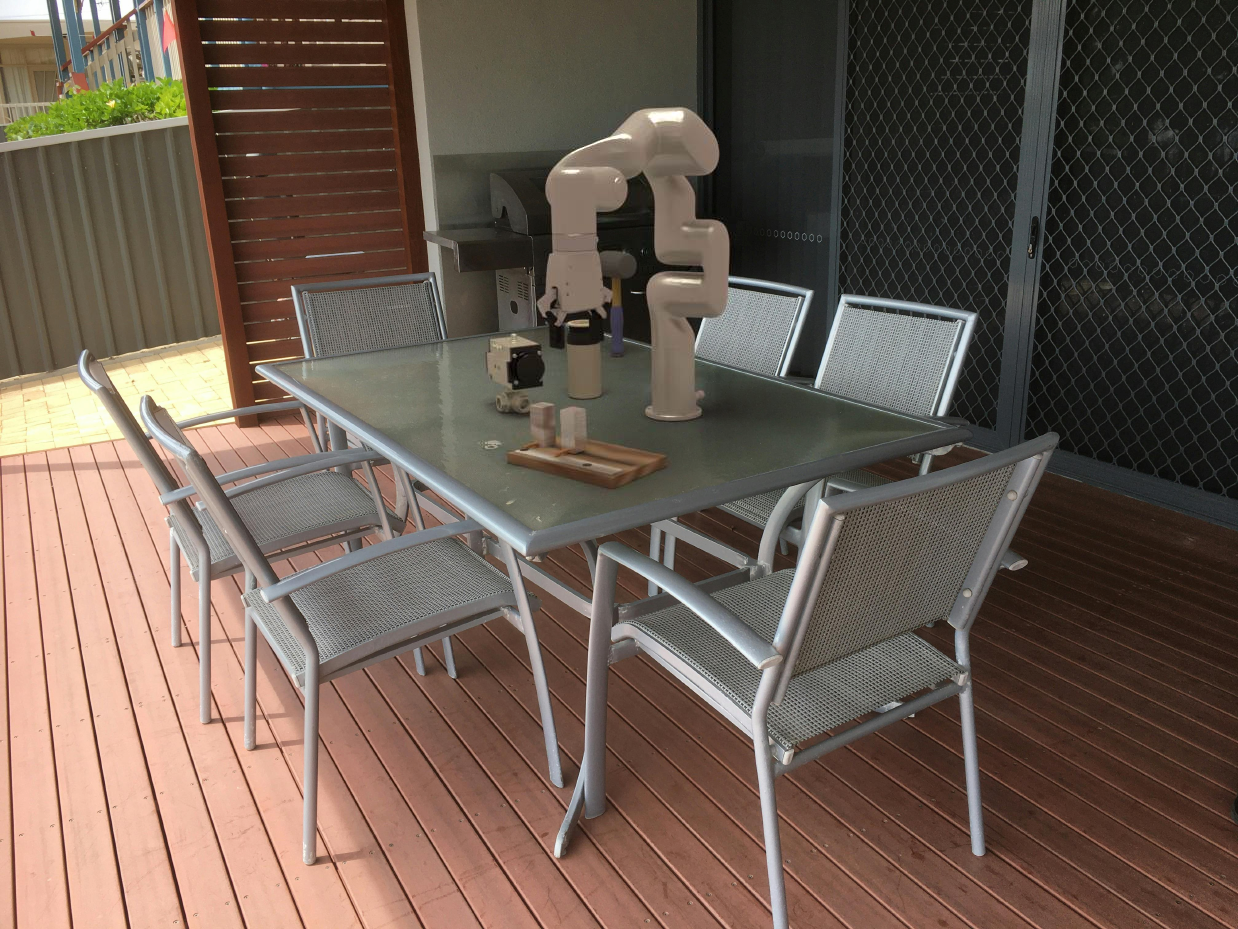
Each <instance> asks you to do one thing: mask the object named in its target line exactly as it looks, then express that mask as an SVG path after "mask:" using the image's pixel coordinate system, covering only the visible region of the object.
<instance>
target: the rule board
mask: <svg viewBox="0 0 1238 929" xmlns="http://www.w3.org/2000/svg"><path fill="white" fill-rule="evenodd" d="M555 408H556V407H555V404H553V403H548V402H542V401H541V402H538V403H533V405H530V411H529V418H530V419H529V420H530V424H529V425H530V439H531V440H530V441H531V443H528V444H526V445H523V446H522V447H521V448H518V449H515V450H512V451H509V452H507V464H508V463H509V464H512V465H516V466H519V467H524V468H527V469H532V470H536V471H539V472H542V473H543V472H544V473H548V474H551V475H554V476H559V477H563V478H568V479H571V480H574V481H575V480H576V481H579V482H584V483H586V484H590V485H595V486H600V487H602V488H607V489H611V490H615V489H616V488H618V487H619V488H620V487H621V486H624V485H627V484H628V483H631V482H633V481H634V480H635V481H636V480H637V479H640V478H643V477H645V476H647V475H649V474H651V473H654V472H657V471H658V470H661V469H663V468H667V466H668V457H667V455H664V454H659V453H655V452H650V451H646V450H641V449H636V448H632V447H629V446H628V447H627V446H623V445H618V444H613V443H608V442H603V441H599V440H594V439H590V438H587V450H584V451H581V452H579V453H576V454H574V453H569V452H568V453H565V454H562V455H559V456H557V457H555V456H554V455H553V454H554V453H557V452H559V451H562V444H561V434H559V435H557V432H556V431H557V430H556V429H557V428H556V409H555Z"/></svg>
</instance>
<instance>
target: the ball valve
mask: <svg viewBox="0 0 1238 929" xmlns="http://www.w3.org/2000/svg"><path fill="white" fill-rule="evenodd" d="M487 339H488V351H486V352H485V353H484V354H485V366H486V367H485V368H486V373H487V374H489V375H490V379H491V380H492V381H494V382H496V383H498V384H500V385H502V386H504V388H508V389H505V390H504V392H502V393H501V394H496V397H495V404H496V408H497V410H498V411H499V412H504V413H513V412H517V413H519V414H526V413H528V412H529V413H530V405H533V404H534V402H533V399H532V397H531V396H530V395H529V394H527V393H526V392H524V391H522V390H527V389H534V388H541V387H544V378H543V376H544V374H545V371H546V365H545V362H544V360H543V358H542V344H541V343H537V342H535V341H532V340H530V339H527V338H524V337H521V336H518V335H517V333H511V334H510V335H509V336H502V337H501V336H500V337H492V338H491V337H490V338H487Z"/></svg>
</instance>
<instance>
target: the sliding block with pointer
mask: <svg viewBox="0 0 1238 929" xmlns="http://www.w3.org/2000/svg"><path fill="white" fill-rule="evenodd" d="M559 414H560V416H559V417H560V418H559V419H560V435H561V444H562V451H559V452H557V453H554V454H553V455H554V456H555V457H557V456H559V455H562V454H565V453H568V452H569V453H574V454H576V453H579V452H581V451H584V450H587V439H588V438H587V410H586V408H582V407H578V406H573V405H572V406H568V407H566V408H563V409H559Z"/></svg>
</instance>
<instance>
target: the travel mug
mask: <svg viewBox="0 0 1238 929" xmlns="http://www.w3.org/2000/svg"><path fill="white" fill-rule="evenodd" d="M566 325H567V326H568V330H569V331H568V333H567V335H566V349H567V350H566V351H567V352H566V353H567V354H566V355H567V376H568V377H567V381H568V396H569V397H570V398H573V399H576V400H591V399H596V398H599V397H600V396H601V395H602V369H601V368H602V366H601V365H602V363H601V341H595V340H590V339H589V319H577V320H570V321H568V322H567V323H566Z"/></svg>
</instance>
